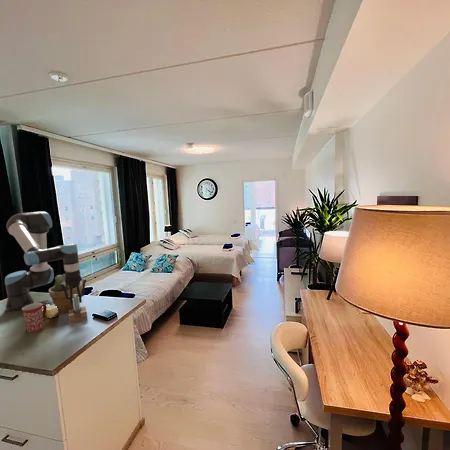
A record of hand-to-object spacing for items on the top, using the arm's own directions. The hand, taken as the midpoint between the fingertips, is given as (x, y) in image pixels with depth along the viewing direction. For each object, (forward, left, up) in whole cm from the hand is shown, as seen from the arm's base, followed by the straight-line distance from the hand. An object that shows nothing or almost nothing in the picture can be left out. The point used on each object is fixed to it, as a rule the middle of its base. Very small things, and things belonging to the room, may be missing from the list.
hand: (77, 308), depth 152 cm
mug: (-2, -20, -7) cm, 21 cm away
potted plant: (-19, -5, -7) cm, 21 cm away
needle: (0, 0, -5) cm, 5 cm away
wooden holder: (0, 0, -6) cm, 6 cm away
